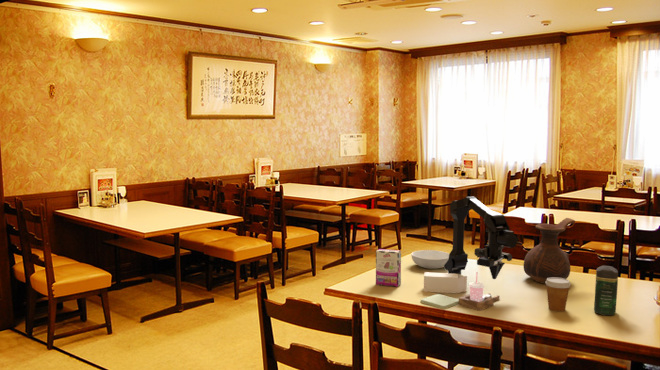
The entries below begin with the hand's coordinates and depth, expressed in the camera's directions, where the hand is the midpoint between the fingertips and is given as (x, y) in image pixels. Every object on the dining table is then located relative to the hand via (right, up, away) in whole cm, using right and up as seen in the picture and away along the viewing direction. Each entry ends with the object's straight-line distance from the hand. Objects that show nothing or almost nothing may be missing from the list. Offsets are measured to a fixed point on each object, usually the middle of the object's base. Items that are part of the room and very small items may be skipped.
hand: (494, 278), depth 239 cm
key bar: (-5, -9, -4) cm, 11 cm away
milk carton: (-28, -4, +14) cm, 32 cm away
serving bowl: (-17, -3, +56) cm, 58 cm away
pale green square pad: (-24, -9, -5) cm, 26 cm away
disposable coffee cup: (+22, -10, -13) cm, 27 cm away
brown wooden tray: (-7, -9, -5) cm, 12 cm away
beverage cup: (-10, -10, -8) cm, 16 cm away
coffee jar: (+39, -11, -17) cm, 44 cm away
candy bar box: (-43, -7, +22) cm, 49 cm away
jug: (+34, -6, +29) cm, 46 cm away
